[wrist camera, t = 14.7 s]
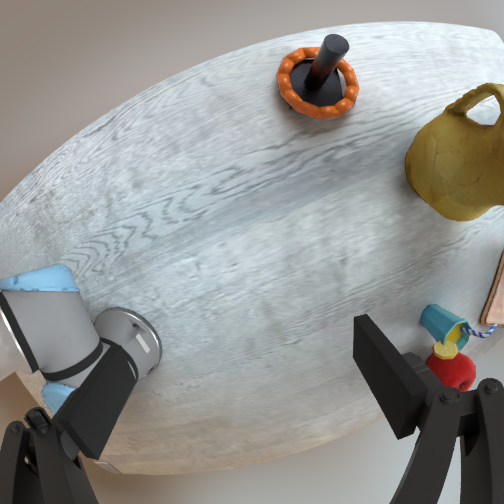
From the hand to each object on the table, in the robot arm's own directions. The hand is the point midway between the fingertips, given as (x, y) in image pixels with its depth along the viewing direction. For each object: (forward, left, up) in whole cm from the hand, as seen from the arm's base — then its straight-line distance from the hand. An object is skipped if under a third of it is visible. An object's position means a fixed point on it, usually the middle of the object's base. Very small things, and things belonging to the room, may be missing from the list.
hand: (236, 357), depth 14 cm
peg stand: (+13, +25, -31) cm, 42 cm away
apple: (+40, -32, -32) cm, 60 cm away
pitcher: (+35, +11, -32) cm, 49 cm away
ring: (+14, +25, -29) cm, 41 cm away
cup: (+36, -19, -32) cm, 52 cm away
